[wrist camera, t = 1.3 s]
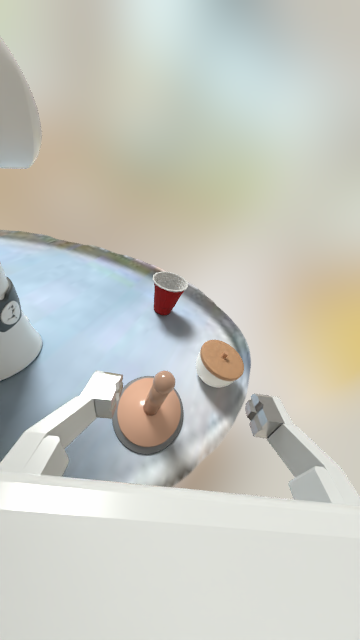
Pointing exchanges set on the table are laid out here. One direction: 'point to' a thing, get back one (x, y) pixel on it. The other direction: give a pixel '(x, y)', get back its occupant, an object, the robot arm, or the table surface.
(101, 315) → the table surface
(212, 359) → the lidded jar
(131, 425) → the lid
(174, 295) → the plastic cup
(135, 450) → the coaster
